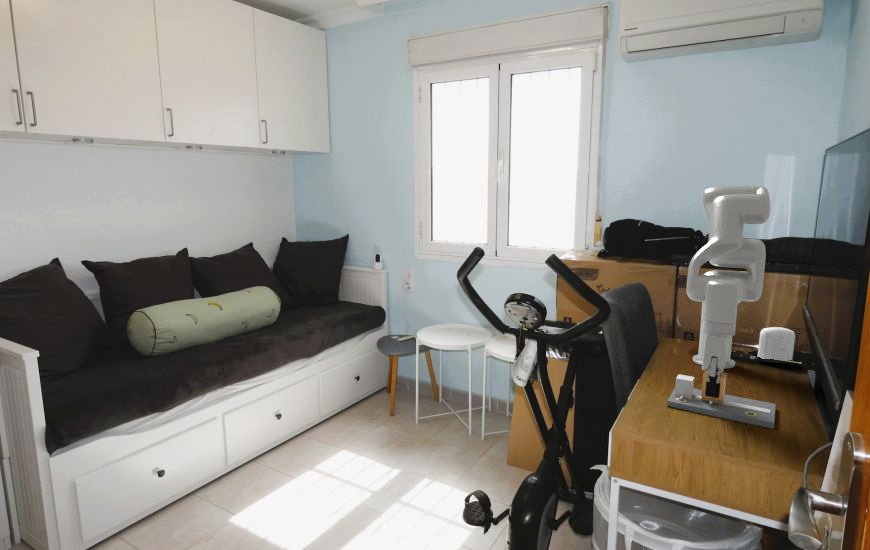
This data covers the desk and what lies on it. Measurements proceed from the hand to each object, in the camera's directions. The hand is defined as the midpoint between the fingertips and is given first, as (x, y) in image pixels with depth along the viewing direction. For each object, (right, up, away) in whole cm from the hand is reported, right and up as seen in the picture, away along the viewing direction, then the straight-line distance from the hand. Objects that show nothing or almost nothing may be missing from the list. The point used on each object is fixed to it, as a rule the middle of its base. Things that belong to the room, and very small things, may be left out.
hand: (713, 393), depth 137 cm
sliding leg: (-1, -2, -1) cm, 2 cm away
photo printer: (+41, +2, +37) cm, 55 cm away
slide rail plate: (+2, -4, -1) cm, 4 cm away
